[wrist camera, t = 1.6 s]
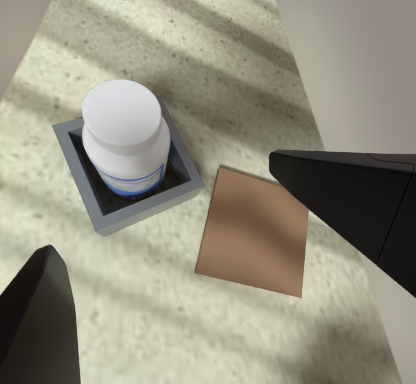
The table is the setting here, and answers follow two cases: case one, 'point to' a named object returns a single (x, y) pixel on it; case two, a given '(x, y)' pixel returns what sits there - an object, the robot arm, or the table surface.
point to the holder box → (108, 224)
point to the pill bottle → (126, 137)
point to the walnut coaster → (254, 235)
